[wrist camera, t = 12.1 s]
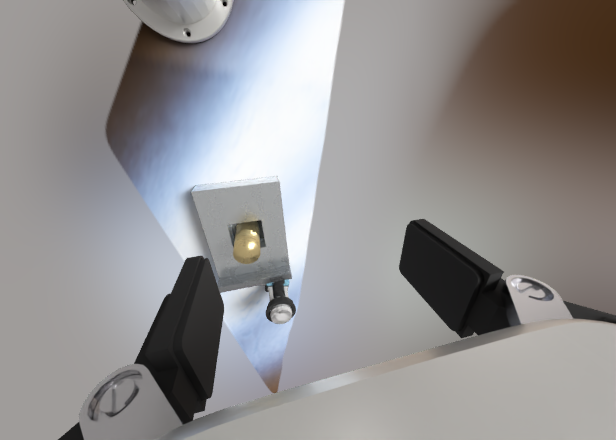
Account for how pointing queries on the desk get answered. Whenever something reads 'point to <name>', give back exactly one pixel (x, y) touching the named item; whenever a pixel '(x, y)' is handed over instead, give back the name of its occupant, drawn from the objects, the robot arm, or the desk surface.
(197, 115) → the desk surface
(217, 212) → the jig
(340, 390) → the robot arm
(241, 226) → the gold domed cylinder
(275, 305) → the push button
